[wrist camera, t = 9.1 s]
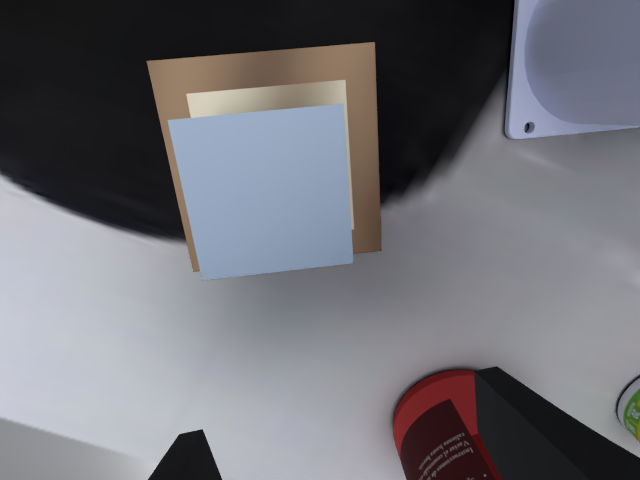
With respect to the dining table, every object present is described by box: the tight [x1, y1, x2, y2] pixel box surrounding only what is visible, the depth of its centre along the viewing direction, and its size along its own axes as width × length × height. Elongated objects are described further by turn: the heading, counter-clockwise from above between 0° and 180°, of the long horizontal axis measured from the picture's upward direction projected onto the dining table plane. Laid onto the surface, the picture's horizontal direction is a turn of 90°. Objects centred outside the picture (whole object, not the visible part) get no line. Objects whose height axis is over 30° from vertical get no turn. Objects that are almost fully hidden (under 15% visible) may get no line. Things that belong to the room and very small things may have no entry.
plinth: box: [147, 42, 382, 272], centre depth 17 cm, size 9×9×2 cm
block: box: [168, 104, 354, 281], centre depth 13 cm, size 4×4×6 cm
